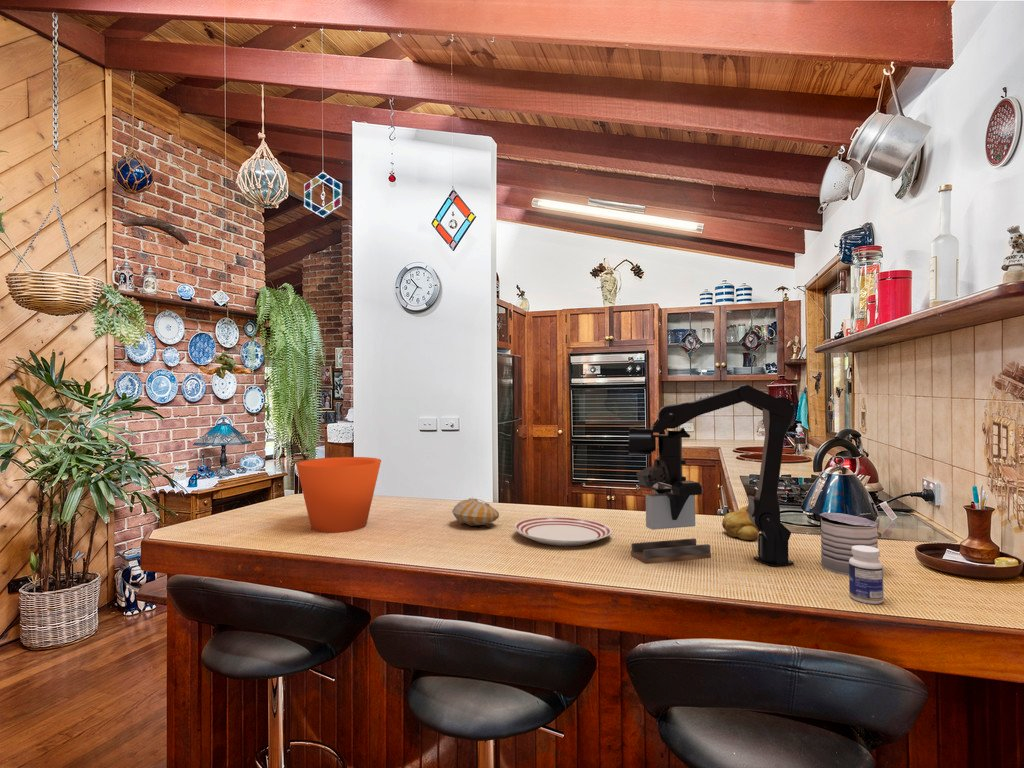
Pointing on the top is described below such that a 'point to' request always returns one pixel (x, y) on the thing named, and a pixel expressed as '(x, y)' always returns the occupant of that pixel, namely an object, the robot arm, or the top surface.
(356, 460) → the flowerpot
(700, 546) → the bottom track
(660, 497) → the door panel
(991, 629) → the top surface
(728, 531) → the tan lumpy piece
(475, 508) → the striped ribbed shell
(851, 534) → the can
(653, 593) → the top surface
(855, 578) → the pill bottle
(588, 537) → the dinner plate
